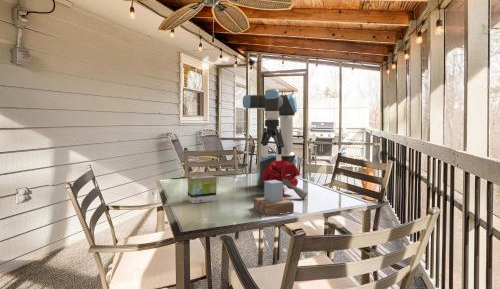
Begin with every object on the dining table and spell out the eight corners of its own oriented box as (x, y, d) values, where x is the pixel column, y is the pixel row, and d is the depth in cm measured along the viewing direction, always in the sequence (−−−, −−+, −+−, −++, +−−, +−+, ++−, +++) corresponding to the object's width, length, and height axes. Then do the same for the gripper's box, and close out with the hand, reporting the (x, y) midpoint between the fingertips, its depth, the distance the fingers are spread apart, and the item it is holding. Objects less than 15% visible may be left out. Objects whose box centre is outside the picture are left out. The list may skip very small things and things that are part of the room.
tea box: (192, 204, 180) (192, 178, 179) (187, 200, 189) (187, 175, 188) (217, 200, 187) (216, 176, 186) (211, 197, 196) (210, 173, 195)
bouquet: (303, 204, 204) (267, 177, 215) (321, 175, 195) (282, 149, 206) (289, 215, 186) (251, 185, 197) (308, 184, 176) (266, 154, 188)
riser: (253, 208, 173) (253, 197, 172) (280, 205, 179) (280, 195, 178) (265, 217, 158) (265, 205, 158) (293, 213, 164) (293, 202, 163)
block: (264, 199, 169) (264, 181, 168) (275, 197, 172) (275, 179, 172) (271, 202, 163) (271, 183, 162) (282, 200, 166) (282, 182, 166)
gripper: (254, 118, 176) (254, 156, 178) (278, 119, 154) (278, 162, 156) (266, 118, 179) (266, 155, 181) (291, 119, 157) (290, 161, 159)
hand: (271, 158), depth 169 cm, fingers open, 13 cm apart
